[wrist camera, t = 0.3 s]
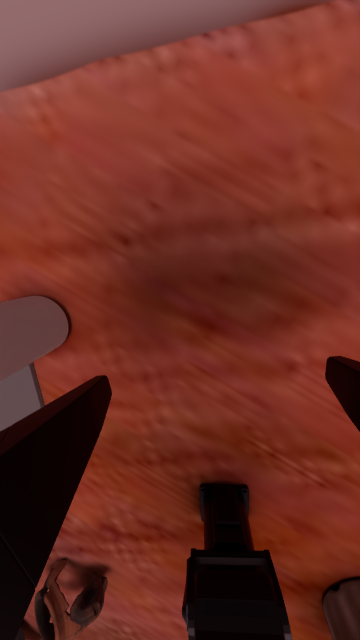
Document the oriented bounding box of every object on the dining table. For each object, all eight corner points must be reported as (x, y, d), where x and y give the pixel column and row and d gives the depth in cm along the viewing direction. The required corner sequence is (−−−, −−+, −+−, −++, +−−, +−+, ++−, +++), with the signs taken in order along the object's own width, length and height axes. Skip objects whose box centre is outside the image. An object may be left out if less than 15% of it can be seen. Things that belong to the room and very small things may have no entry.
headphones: (88, 595, 39) (39, 656, 32) (73, 537, 41) (25, 582, 34) (128, 604, 33) (80, 680, 26) (108, 536, 36) (59, 589, 29)
